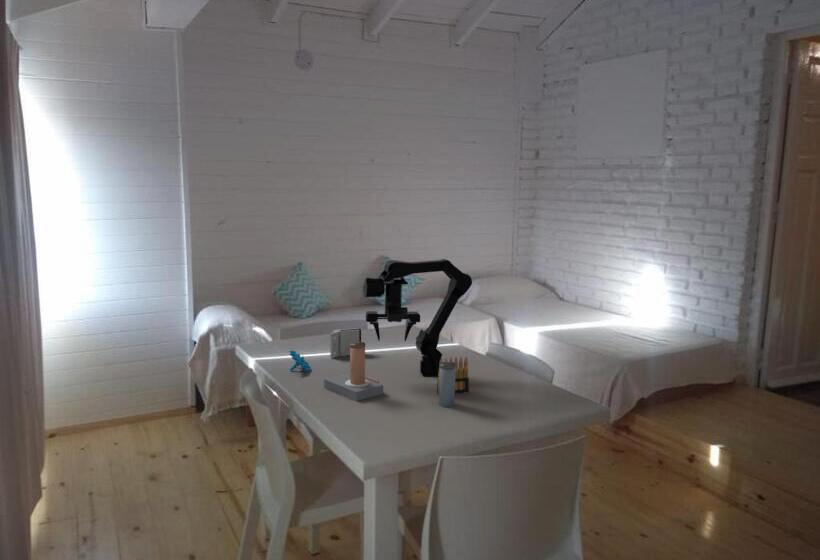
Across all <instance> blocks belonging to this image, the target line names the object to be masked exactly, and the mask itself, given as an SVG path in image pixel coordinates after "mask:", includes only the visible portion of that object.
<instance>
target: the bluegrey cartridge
mask: <svg viewBox="0 0 820 560" xmlns="http://www.w3.org/2000/svg"><path fill="white" fill-rule="evenodd" d="M455 368H456V364H455V363H454V361H453V362H450V361H448V362H445V361H442V362H441V363H440V383H439V395H438V405H439V406H440V407H443V408H452V407H455V403H456V402H455V401H456V400H455V398H456V397H455V396H456V394H455Z"/></svg>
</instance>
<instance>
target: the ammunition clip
mask: <svg viewBox="0 0 820 560" xmlns="http://www.w3.org/2000/svg"><path fill="white" fill-rule="evenodd" d="M463 361H464V362H463ZM441 362H443V359H442V358H441V359H440V363H441ZM444 362H453V363H455V364H456V368H455V393H459V394H465V393H464V392H468V393H469V392H470V391H469V390H470V389H469V388H470V387H469V386H470V385H469V383H470V382H469V365H468V363H469V362H468V357H467V356H465V357H464V360H463V358H462V356H460V357H459V360H458V358H457V357H455V358H454V361H453V358H452V357H450V359H449V361H448V359H447V357H446V358H445V359H444ZM440 363H439V372H438V376H437V387H436V395H438V396H439V383H440Z"/></svg>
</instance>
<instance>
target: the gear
mask: <svg viewBox="0 0 820 560" xmlns="http://www.w3.org/2000/svg"><path fill="white" fill-rule="evenodd" d="M289 355H290V356H291V359H292V360H293V361H295V362H294V365H292V366H291V367H290V368H289V370H290V371H291V372H292V371H294V370H295V369H296V368H297V367H299V366H300V368H301V369H302V370H304V371H305V372H310V371H311V370H312V369H311V366H310V364H309V362H308V361H306V358H305V357H304V355H302V356H301V354H300V353H299V352H296V350H293V349H291V350H290V351H289Z"/></svg>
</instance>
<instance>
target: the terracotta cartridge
mask: <svg viewBox="0 0 820 560" xmlns="http://www.w3.org/2000/svg"><path fill="white" fill-rule="evenodd" d="M349 360H350V361H349V362H350V363H349V366H350V367H349V369H350V370H349V373H350V383H351V384H354V385H361V384H364V383H365V376H366V342H364V341H361V342H351V343H350V355H349Z"/></svg>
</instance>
